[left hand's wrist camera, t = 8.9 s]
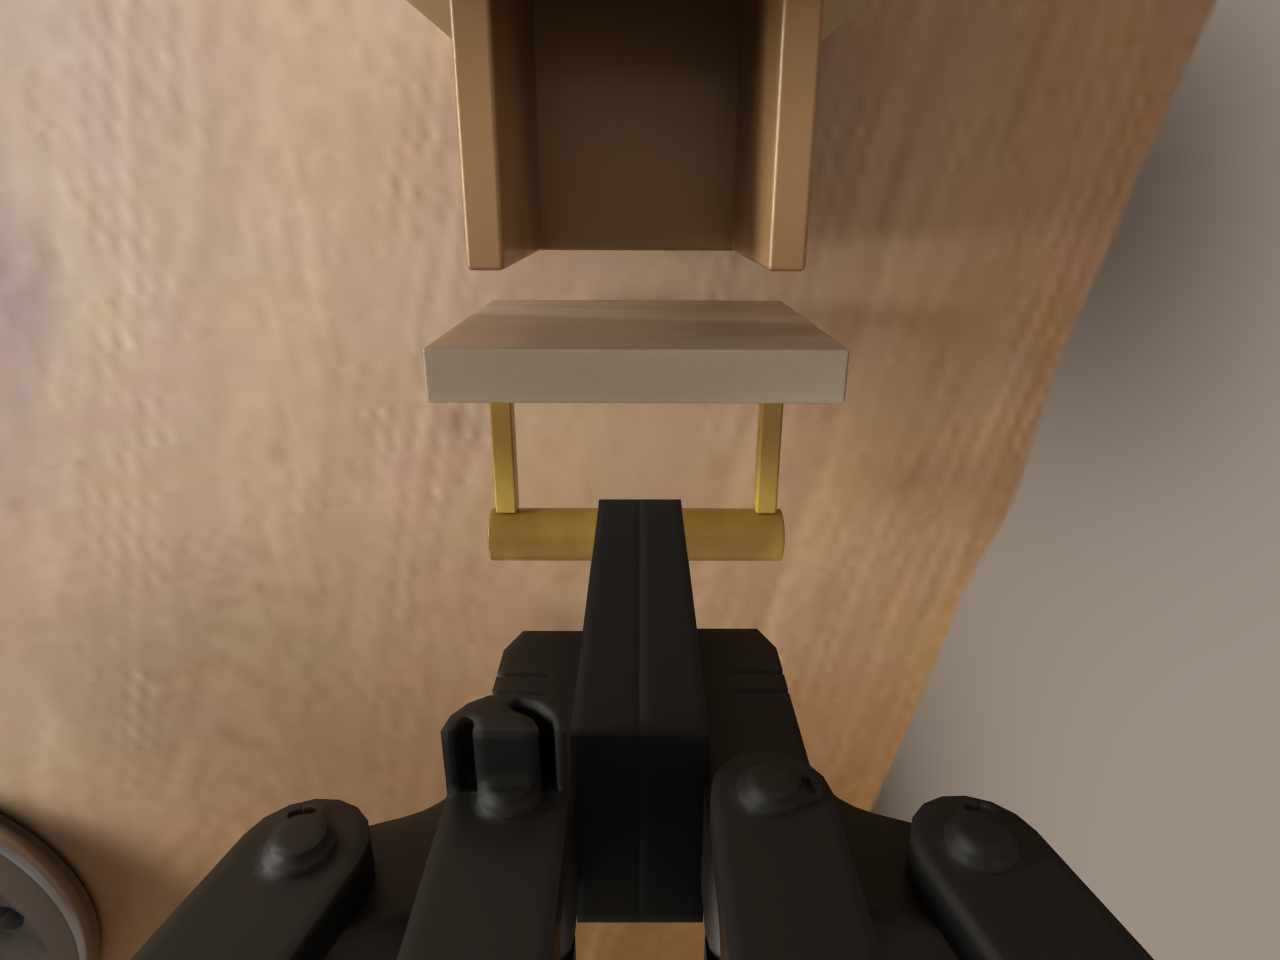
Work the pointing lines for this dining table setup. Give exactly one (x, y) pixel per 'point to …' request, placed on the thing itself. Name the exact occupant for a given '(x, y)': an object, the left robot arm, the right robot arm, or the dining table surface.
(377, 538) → the dining table surface
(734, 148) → the drawer
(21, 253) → the dining table surface
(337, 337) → the dining table surface
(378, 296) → the dining table surface
